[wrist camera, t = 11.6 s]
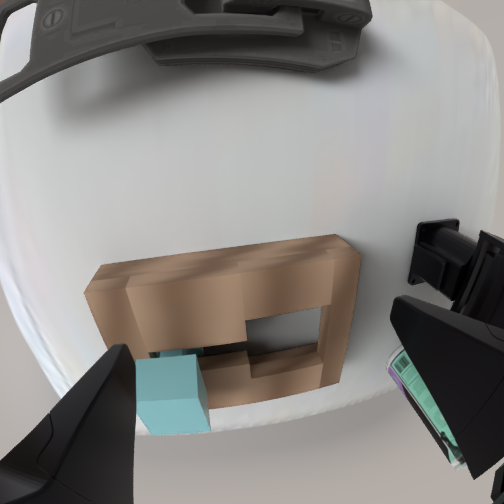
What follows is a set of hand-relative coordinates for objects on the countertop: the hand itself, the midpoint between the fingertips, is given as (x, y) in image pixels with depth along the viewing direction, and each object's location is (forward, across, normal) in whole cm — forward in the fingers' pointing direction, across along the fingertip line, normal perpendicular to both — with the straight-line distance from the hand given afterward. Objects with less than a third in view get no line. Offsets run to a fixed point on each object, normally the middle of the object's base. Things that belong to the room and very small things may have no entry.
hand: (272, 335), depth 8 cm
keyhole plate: (+12, +1, +8) cm, 15 cm away
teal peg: (+12, +5, +8) cm, 16 cm away
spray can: (+12, -20, +20) cm, 31 cm away
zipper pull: (+12, +3, -14) cm, 19 cm away
